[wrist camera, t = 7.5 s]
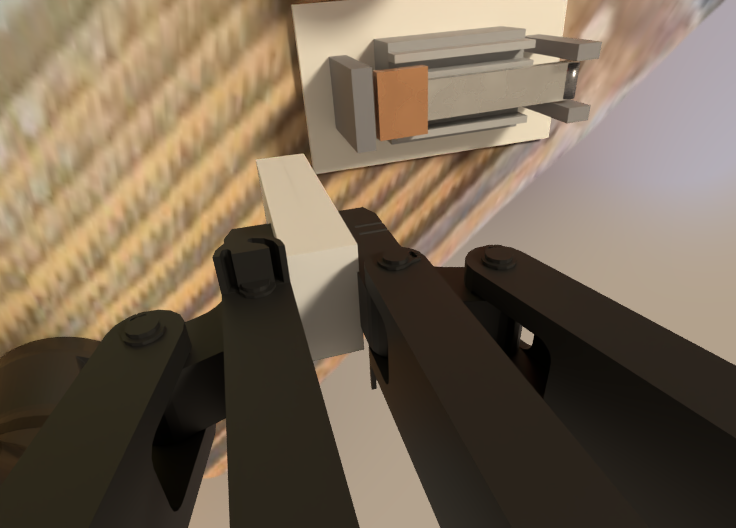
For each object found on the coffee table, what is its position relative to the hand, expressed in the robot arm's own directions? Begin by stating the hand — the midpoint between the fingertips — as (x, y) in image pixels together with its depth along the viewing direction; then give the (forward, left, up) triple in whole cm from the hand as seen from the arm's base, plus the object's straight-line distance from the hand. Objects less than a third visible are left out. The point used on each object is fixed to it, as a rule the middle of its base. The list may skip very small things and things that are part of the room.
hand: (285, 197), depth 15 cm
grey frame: (+17, -2, -28) cm, 33 cm away
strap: (+18, -2, -21) cm, 28 cm away
